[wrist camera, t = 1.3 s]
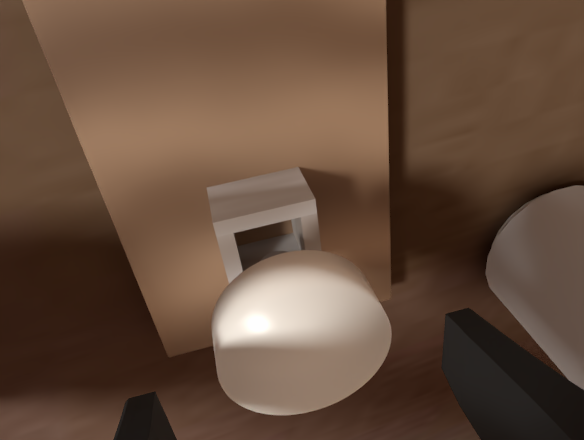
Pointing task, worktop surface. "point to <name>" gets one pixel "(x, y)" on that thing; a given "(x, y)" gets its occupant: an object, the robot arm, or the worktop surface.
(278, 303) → the plunger
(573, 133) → the worktop surface
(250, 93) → the stand
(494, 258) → the can
